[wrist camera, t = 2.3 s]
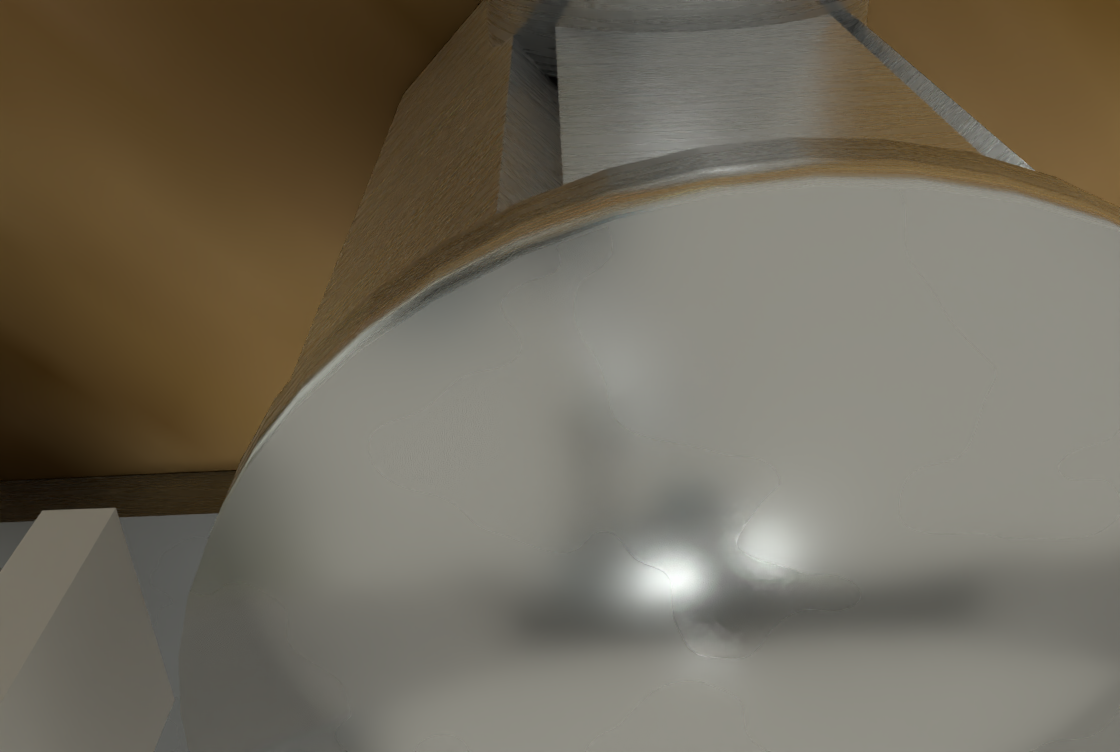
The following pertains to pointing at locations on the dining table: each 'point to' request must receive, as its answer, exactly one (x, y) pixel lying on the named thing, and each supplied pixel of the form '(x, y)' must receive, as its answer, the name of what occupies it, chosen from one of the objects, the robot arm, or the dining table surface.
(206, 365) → the dining table surface
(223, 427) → the dining table surface
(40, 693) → the robot arm
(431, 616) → the grey metal fitting
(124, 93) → the dining table surface
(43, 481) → the grey metal plate
